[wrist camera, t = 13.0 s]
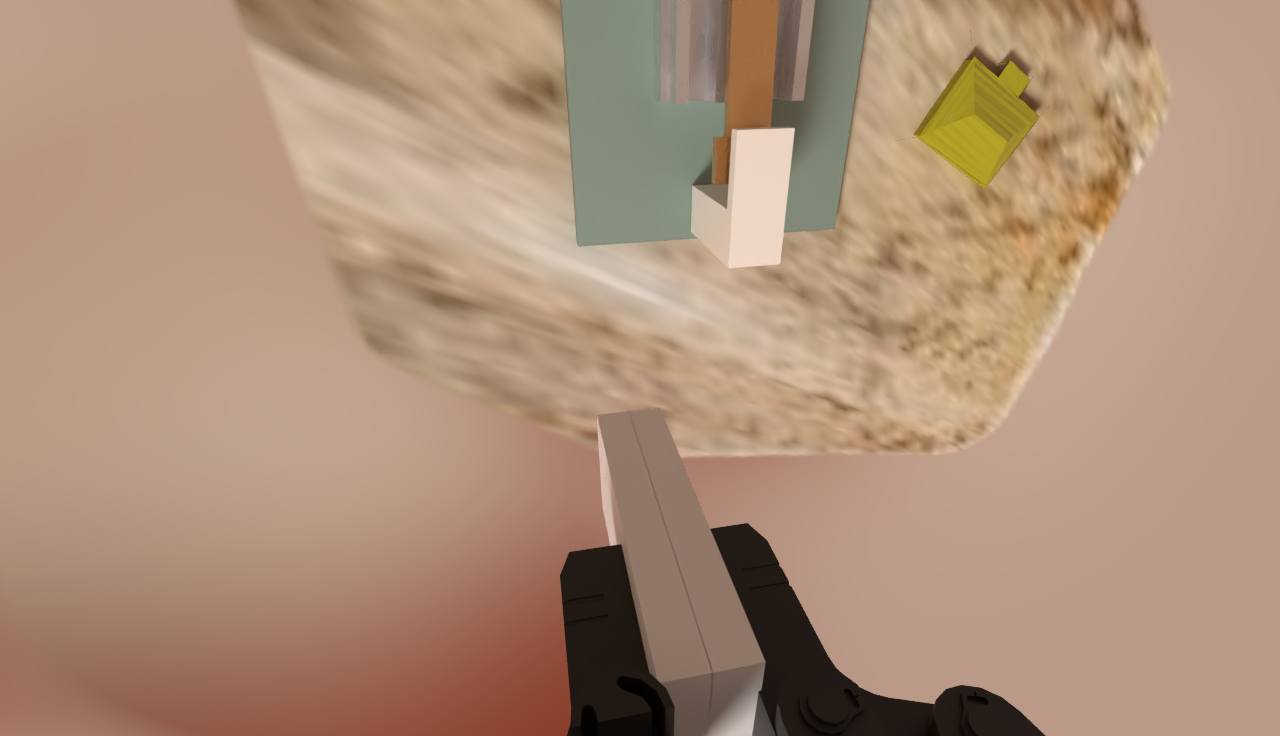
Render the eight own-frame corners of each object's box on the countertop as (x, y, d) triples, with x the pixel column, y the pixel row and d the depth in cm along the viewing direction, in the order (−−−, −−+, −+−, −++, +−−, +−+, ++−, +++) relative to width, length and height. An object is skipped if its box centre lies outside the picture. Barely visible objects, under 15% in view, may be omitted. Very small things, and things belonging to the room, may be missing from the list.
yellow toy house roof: (877, 143, 39) (901, 148, 37) (967, 9, 36) (1000, 5, 34) (968, 210, 43) (995, 219, 41) (1056, 94, 40) (1091, 96, 38)
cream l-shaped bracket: (694, 117, 34) (737, 129, 27) (741, 115, 35) (794, 127, 28) (690, 231, 37) (728, 268, 31) (733, 229, 38) (779, 264, 31)
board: (539, -299, 26) (546, -406, 20) (897, -268, 29) (996, -353, 23) (576, 241, 38) (587, 274, 32) (826, 224, 40) (878, 252, 35)
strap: (720, -215, 24) (728, -227, 23) (798, -210, 25) (809, -222, 24) (710, 183, 31) (716, 185, 30) (771, 179, 32) (778, 182, 31)
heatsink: (652, -69, 30) (670, -87, 26) (795, -66, 31) (831, -82, 27) (653, 99, 33) (669, 104, 30) (780, 96, 35) (809, 100, 31)
